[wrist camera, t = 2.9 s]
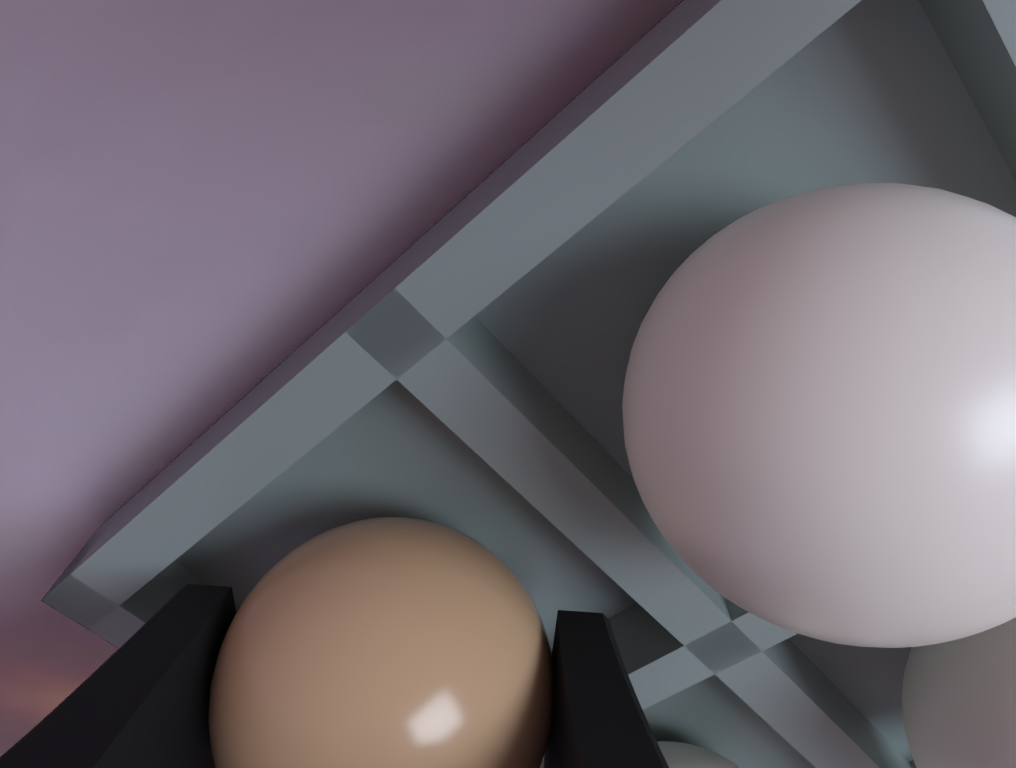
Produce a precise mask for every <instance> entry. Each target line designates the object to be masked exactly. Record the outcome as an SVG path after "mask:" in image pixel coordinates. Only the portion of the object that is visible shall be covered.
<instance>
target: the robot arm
mask: <svg viewBox="0 0 1016 768" xmlns="http://www.w3.org/2000/svg"><path fill="white" fill-rule="evenodd" d="M235 615H236V607H235V602H234V596H233V591H232V587H226V586H212V585H198V584H187V585H185V586H184V587H183V588H182V589H180V590H179V591H178V592H177V593H176V594H175V595H174V596H173V597H172V598H171V599H170V600H169V601H168V602H167V603H166V604H165V605H164V606H163V607H162V608H161V609H159V610H158V611H157V612H156V613H155V614H154V615H153V616H152V617H151V618H150V619H149V620H148V621H147V622H146V623H145V624H144V625H143V626H142V627H141V628H140V629H139V630H138V631H137V632H136V633H135V634H134V635H133V636H132V637H131V638H130V639H129V640H128V641H127V642H125V643H124V644H123V645H122V646H121V647H120V648H119V649H118V650H117V651H116V652H115V653H114V654H113V655H112V656H111V657H110V658H109V659H108V660H107V661H106V662H105V663H104V664H102V665H101V666H100V667H99V668H98V669H97V670H96V671H95V672H94V673H93V674H92V675H91V676H90V677H89V678H88V679H87V680H85V681H84V682H83V683H82V684H81V685H80V686H79V687H78V688H77V689H76V690H75V691H74V692H72V693H71V694H70V695H69V696H68V697H67V698H66V699H65V700H64V701H63V702H62V703H60V704H59V705H58V706H57V707H56V708H55V709H54V710H53V711H52V712H51V713H50V714H49V715H47V716H46V717H45V718H44V719H43V720H42V721H41V722H40V723H39V724H38V725H37V726H35V727H34V728H33V729H32V730H31V731H30V732H29V733H28V734H26V735H25V736H24V737H23V738H22V739H21V740H20V741H18V742H17V743H16V744H15V745H14V746H13V747H11V748H10V749H9V750H8V751H7V752H6V753H4V754H3V755H2V756H1V757H0V768H215V764H214V760H213V757H212V751H211V744H210V734H209V723H208V715H209V700H210V687H211V681H212V676H213V672H214V668H215V663H216V660H217V657H218V653H219V650H220V647H221V645H222V642H223V640H224V637H225V634H226V632H227V630H228V628H229V626H230V624H231V622H232V620H233V619H234V617H235ZM552 660H553V668H554V710H553V721H552V727H551V732H550V737H549V741H548V745H547V749H546V752H545V755H544V768H669V766H668V764H667V762H666V760H665V758H664V756H663V754H662V752H661V750H660V747H659V745H658V743H657V741H656V739H655V737H654V735H653V733H652V730H651V728H650V726H649V724H648V721H647V719H646V717H645V715H644V712H643V710H642V708H641V705H640V703H639V700H638V698H637V695H636V693H635V691H634V688H633V686H632V683H631V681H630V678H629V676H628V673H627V671H626V668H625V665H624V663H623V660H622V657H621V655H620V652H619V649H618V646H617V643H616V640H615V637H614V634H613V631H612V627H611V624H610V620H609V619H608V618H607V617H606V616H605V615H604V614H603V613H594V612H580V611H566V610H558V612H557V620H556V627H555V634H554V642H553V649H552Z"/></svg>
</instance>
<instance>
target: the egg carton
mask: <svg viewBox="0 0 1016 768" xmlns="http://www.w3.org/2000/svg"><path fill="white" fill-rule="evenodd" d="M379 517H407V518H415V519H422V520H427V521H431V522H435V523H439V524H442V525H445V526H448V527H451V528H453V529H455V530H458V531H460V532H462V533H464V534H466V535H468V536H470V537H472V538H473V539H475V540H477V541H478V542H480V543H481V544H483V545H484V546H485V547H487V548H488V549H489V550H491V551H492V552H493V553H494V554H495V555H496V556H498V557H499V558H500V559H501V560H502V561H503V562H504V563H505V564H506V565H507V566H508V567H509V568H510V569H511V570H512V571H513V573H514V574H515V575H516V577H517V578H518V579H519V581H520V582H521V583H522V585H523V586H524V587H525V589H526V590H527V592H528V593H529V595H530V597H531V599H532V601H533V602H534V604H535V606H536V608H537V611H538V613H539V615H540V617H541V619H542V622H543V625H544V628H545V631H546V633H547V637H548V641H549V645H550V648H551V654H552V649H553V642H554V634H555V627H556V620H557V612H558V610H566V611H580V612H594V613H603V614H604V615H605V616H606V617H607V618H608V619H609V620H610V624H611V627H612V631H613V634H614V637H615V640H616V643H617V646H618V649H619V652H620V655H621V657H622V660H623V663H624V665H625V668H626V671H627V673H628V676H629V678H630V681H631V683H632V686H633V688H634V691H635V693H636V695H637V698H638V700H639V703H640V705H641V708H642V710H643V712H644V715H645V717H646V719H647V721H648V724H649V726H650V728H651V730H652V733H653V735H654V737H655V739H656V741H657V743H658V745H659V747H660V750H661V752H662V754H663V756H664V758H665V760H666V762H667V764H668V766H669V768H1016V0H684V1H682V2H681V3H680V4H679V5H678V6H677V7H676V8H675V9H674V10H673V11H671V12H670V13H669V14H668V15H667V16H666V17H665V18H664V19H663V20H661V21H660V22H659V23H658V24H657V25H656V26H655V27H654V28H653V29H651V30H650V31H649V32H648V33H647V34H646V35H645V36H644V37H643V38H641V39H640V40H639V41H638V42H637V43H636V44H635V45H634V46H633V47H631V48H630V49H629V50H628V51H627V52H626V53H625V54H624V55H623V56H621V57H620V58H619V59H618V60H617V61H616V62H615V63H614V64H613V65H612V66H610V67H609V68H608V69H607V70H606V71H605V72H604V73H603V74H602V75H600V76H599V77H598V78H597V79H596V80H595V81H594V82H593V83H592V84H590V85H589V86H588V87H587V88H586V89H585V90H584V91H583V92H582V93H580V94H579V95H578V96H577V97H576V98H575V99H574V100H573V101H572V102H570V103H569V104H568V105H567V106H566V107H565V108H564V109H563V110H562V111H561V112H559V113H558V114H557V115H556V116H555V117H554V118H553V119H552V120H551V121H549V122H548V123H547V124H546V125H545V126H544V127H543V128H542V129H541V130H539V131H538V132H537V133H536V134H535V135H534V136H533V137H532V138H531V139H529V140H528V141H527V142H526V143H525V144H524V145H523V146H522V147H521V148H519V149H518V150H517V151H516V152H515V153H514V154H513V155H512V156H511V157H509V158H508V159H507V160H506V161H505V162H504V163H503V164H502V165H501V166H500V167H498V168H497V169H496V170H495V171H494V172H493V173H492V174H491V175H490V176H488V177H487V178H486V179H485V180H484V181H483V182H482V183H481V184H480V185H478V186H477V187H476V188H475V189H474V190H473V191H472V192H471V193H470V194H468V195H467V196H466V197H465V198H464V199H463V200H462V201H461V202H460V203H458V204H457V205H456V206H455V207H454V208H453V209H452V210H451V211H450V212H449V213H447V214H446V215H445V216H444V217H443V218H442V219H441V220H440V221H439V222H437V223H436V224H435V225H434V226H433V227H432V228H431V229H430V230H429V231H427V232H426V233H425V234H424V235H423V236H422V237H421V238H420V239H419V240H417V241H416V242H415V243H414V244H413V245H412V246H411V247H410V248H409V249H407V250H406V251H405V252H404V253H403V254H402V255H401V256H400V257H399V258H397V259H396V260H395V261H394V262H393V263H392V264H391V265H390V266H389V267H388V268H386V269H385V270H384V271H383V272H382V273H381V274H380V275H379V276H378V277H376V278H375V279H374V280H373V281H372V282H371V283H370V284H369V285H368V286H366V287H365V288H364V289H363V290H362V291H361V292H360V293H359V294H358V295H356V296H355V297H354V298H353V299H352V300H351V301H350V302H349V303H348V304H346V305H345V306H344V307H343V308H342V309H341V310H340V311H339V312H338V313H337V314H335V315H334V316H333V317H332V318H331V319H330V320H329V321H328V322H327V323H325V324H324V325H323V326H322V327H321V328H320V329H319V330H318V331H317V332H315V333H314V334H313V335H312V336H311V337H310V338H309V339H308V340H307V341H305V342H304V343H303V344H302V345H301V346H300V347H299V348H298V349H297V350H295V351H294V352H293V353H292V354H291V355H290V356H289V357H288V358H287V359H285V360H284V361H283V362H282V363H281V364H280V365H279V366H278V367H277V368H276V369H274V370H273V371H272V372H271V373H270V374H269V375H268V376H267V377H266V378H264V379H263V380H262V381H261V382H260V383H259V384H258V385H257V386H256V387H254V388H253V389H252V390H251V391H250V392H249V393H248V394H247V395H246V396H244V397H243V398H242V399H241V400H240V401H239V402H238V403H237V404H236V405H234V406H233V407H232V408H231V409H230V410H229V411H228V412H227V413H226V414H225V415H223V416H222V417H221V418H220V419H219V420H218V421H217V422H216V423H215V424H213V425H212V426H211V427H210V428H209V429H208V430H207V431H206V432H205V433H203V434H202V435H201V436H200V437H199V438H198V439H197V440H196V441H195V442H193V443H192V444H191V445H190V446H189V447H188V448H187V449H186V450H185V451H183V452H182V453H181V454H180V455H179V456H178V457H177V458H176V459H175V460H173V461H172V462H171V463H170V464H169V465H168V466H167V467H166V468H165V469H164V470H162V471H161V472H160V473H159V474H158V475H157V476H156V477H155V478H154V479H152V480H151V481H150V482H149V483H148V484H147V485H146V486H145V487H144V488H142V489H141V490H140V491H139V492H138V493H137V494H136V495H135V496H134V497H132V498H131V499H130V500H129V501H128V502H127V503H126V504H125V505H124V506H122V507H121V508H120V509H119V510H118V511H117V512H116V513H115V514H114V515H113V516H111V517H110V518H109V519H108V520H107V521H106V522H105V523H104V524H103V525H101V526H100V528H99V529H98V530H97V531H96V533H95V534H94V535H93V536H92V538H91V539H90V540H89V541H88V542H87V544H86V545H85V546H84V547H83V549H82V550H81V551H80V552H79V554H78V555H77V556H76V557H75V559H74V560H73V561H72V562H71V564H70V565H69V566H68V567H67V569H66V570H65V571H64V572H63V574H62V575H61V576H60V577H59V579H58V580H57V581H56V582H55V584H54V585H53V586H52V587H51V589H50V590H49V591H48V592H47V594H46V595H45V596H44V597H43V598H42V600H41V601H43V602H44V603H46V604H48V605H49V606H51V607H52V608H54V609H56V610H57V611H59V612H60V613H62V614H64V615H65V616H67V617H69V618H70V619H72V620H73V621H75V622H77V623H78V624H80V625H81V626H83V627H85V628H86V629H88V630H90V631H91V632H93V633H94V634H96V635H98V636H99V637H101V638H102V639H104V640H106V641H107V642H109V643H110V644H112V645H114V646H115V647H117V648H120V647H121V646H122V645H123V644H124V643H125V642H127V641H128V640H129V639H130V638H131V637H132V636H133V635H134V634H135V633H136V632H137V631H138V630H139V629H140V628H141V627H142V626H143V625H144V624H145V623H146V622H147V621H148V620H149V619H150V618H151V617H152V616H153V615H154V614H155V613H156V612H157V611H158V610H159V609H161V608H162V607H163V606H164V605H165V604H166V603H167V602H168V601H169V600H170V599H171V598H172V597H173V596H174V595H175V594H176V593H177V592H178V591H179V590H180V589H182V588H183V587H184V586H185V585H187V584H198V585H212V586H226V587H232V591H233V596H234V602H235V607H236V613H237V612H238V610H239V608H240V606H241V605H242V603H243V601H244V600H245V598H246V597H247V596H248V595H249V593H250V592H251V591H252V590H253V588H254V587H255V586H256V585H257V583H258V582H259V581H260V580H261V579H262V577H263V576H264V575H265V574H266V573H267V572H268V571H269V570H270V569H271V568H272V567H274V566H275V565H276V564H277V563H278V562H279V561H280V560H281V559H283V558H284V557H285V556H286V555H287V554H288V553H289V552H291V551H292V550H294V549H295V548H297V547H299V546H300V545H302V544H303V543H305V542H307V541H308V540H310V539H312V538H313V537H315V536H317V535H319V534H321V533H323V532H326V531H328V530H330V529H333V528H336V527H339V526H342V525H345V524H348V523H351V522H354V521H359V520H364V519H369V518H379ZM540 768H544V758H543V760H542V763H541V766H540Z"/></svg>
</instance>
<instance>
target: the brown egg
mask: <svg viewBox="0 0 1016 768" xmlns="http://www.w3.org/2000/svg"><path fill="white" fill-rule="evenodd" d="M553 710H554V668H553V660H552V654H551V648H550V645H549V641H548V637H547V633H546V631H545V628H544V625H543V622H542V619H541V617H540V615H539V613H538V611H537V608H536V606H535V604H534V602H533V601H532V599H531V597H530V595H529V593H528V592H527V590H526V589H525V587H524V586H523V585H522V583H521V582H520V581H519V579H518V578H517V577H516V575H515V574H514V573H513V571H512V570H511V569H510V568H509V567H508V566H507V565H506V564H505V563H504V562H503V561H502V560H501V559H500V558H499V557H498V556H496V555H495V554H494V553H493V552H492V551H491V550H489V549H488V548H487V547H485V546H484V545H483V544H481V543H480V542H478V541H477V540H475V539H473V538H472V537H470V536H468V535H466V534H464V533H462V532H460V531H458V530H455V529H453V528H451V527H448V526H445V525H442V524H439V523H435V522H431V521H427V520H422V519H415V518H407V517H379V518H369V519H364V520H359V521H354V522H351V523H348V524H345V525H342V526H339V527H336V528H333V529H330V530H328V531H326V532H323V533H321V534H319V535H317V536H315V537H313V538H312V539H310V540H308V541H307V542H305V543H303V544H302V545H300V546H299V547H297V548H295V549H294V550H292V551H291V552H289V553H288V554H287V555H286V556H285V557H284V558H283V559H281V560H280V561H279V562H278V563H277V564H276V565H275V566H274V567H272V568H271V569H270V570H269V571H268V572H267V573H266V574H265V575H264V576H263V577H262V579H261V580H260V581H259V582H258V583H257V585H256V586H255V587H254V588H253V590H252V591H251V592H250V593H249V595H248V596H247V597H246V598H245V600H244V601H243V603H242V605H241V606H240V608H239V610H238V612H237V613H236V615H235V617H234V619H233V620H232V622H231V624H230V626H229V628H228V630H227V632H226V634H225V637H224V640H223V642H222V645H221V647H220V650H219V653H218V657H217V660H216V663H215V668H214V672H213V676H212V681H211V687H210V700H209V715H208V723H209V734H210V744H211V751H212V757H213V760H214V764H215V768H540V766H541V763H542V760H543V758H544V755H545V752H546V749H547V745H548V741H549V737H550V732H551V727H552V721H553Z"/></svg>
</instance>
